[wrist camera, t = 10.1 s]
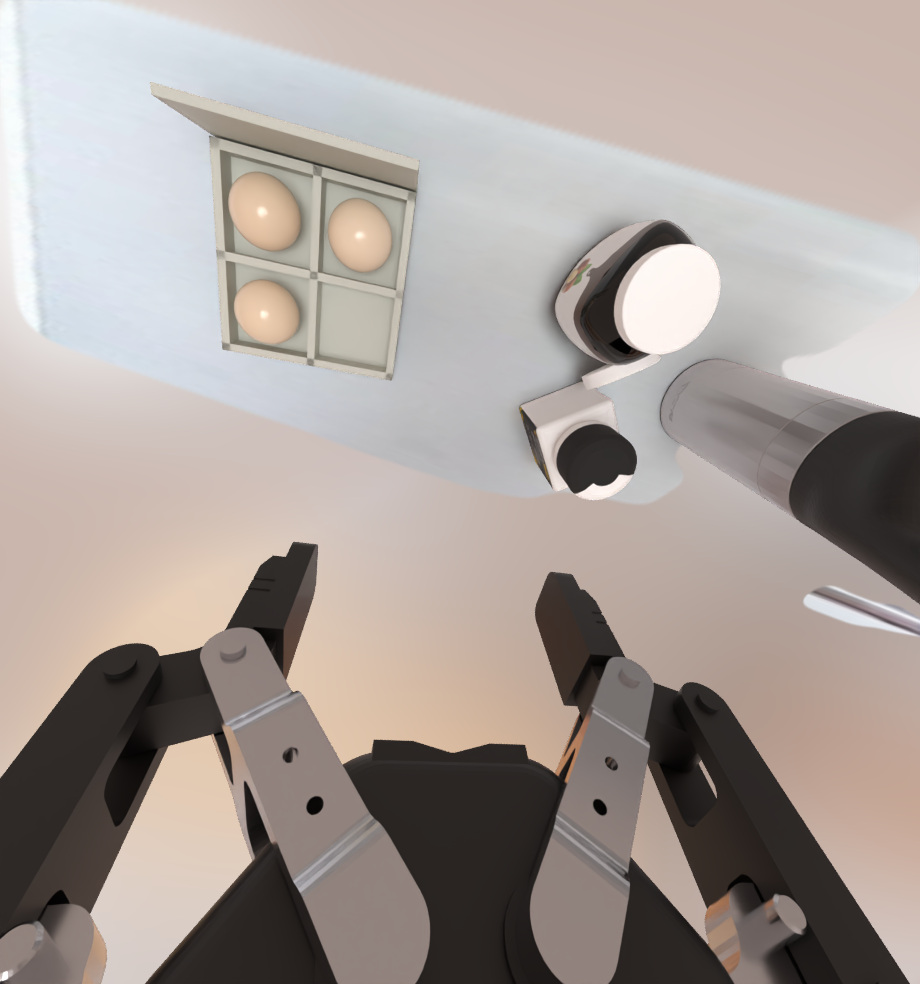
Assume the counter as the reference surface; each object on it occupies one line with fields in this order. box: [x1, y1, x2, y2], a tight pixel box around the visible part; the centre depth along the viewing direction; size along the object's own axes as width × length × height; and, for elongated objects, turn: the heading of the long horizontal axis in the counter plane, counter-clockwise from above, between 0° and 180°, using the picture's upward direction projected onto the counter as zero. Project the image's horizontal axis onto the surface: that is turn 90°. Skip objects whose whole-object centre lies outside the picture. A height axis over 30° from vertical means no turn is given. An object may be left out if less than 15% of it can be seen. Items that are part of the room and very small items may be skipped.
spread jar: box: [555, 220, 720, 390], centre depth 33 cm, size 12×11×12 cm
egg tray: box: [150, 82, 419, 380], centre depth 30 cm, size 14×15×10 cm
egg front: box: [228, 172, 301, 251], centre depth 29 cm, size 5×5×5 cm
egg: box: [234, 279, 300, 344], centre depth 33 cm, size 5×5×5 cm
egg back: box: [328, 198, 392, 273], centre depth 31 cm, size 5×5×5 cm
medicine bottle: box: [519, 381, 637, 500], centre depth 38 cm, size 7×7×12 cm
